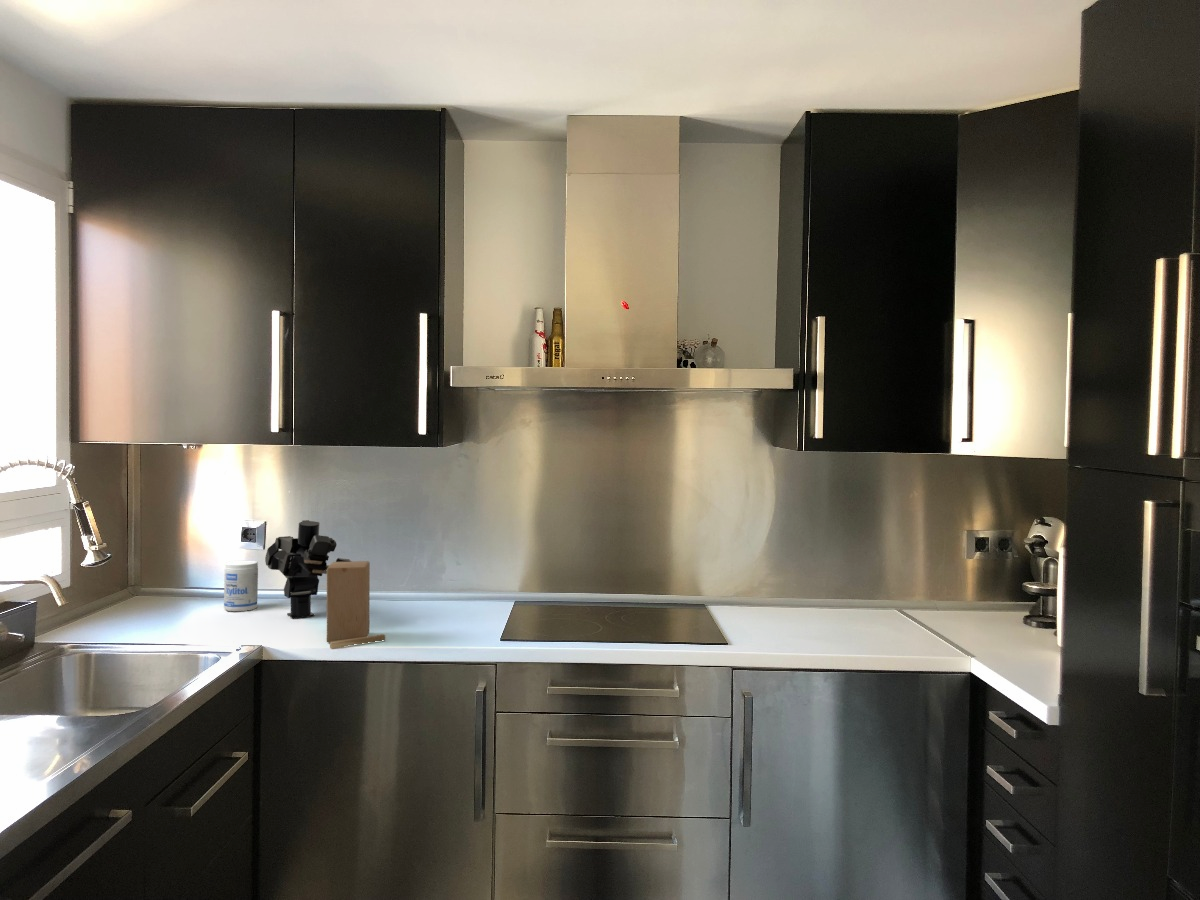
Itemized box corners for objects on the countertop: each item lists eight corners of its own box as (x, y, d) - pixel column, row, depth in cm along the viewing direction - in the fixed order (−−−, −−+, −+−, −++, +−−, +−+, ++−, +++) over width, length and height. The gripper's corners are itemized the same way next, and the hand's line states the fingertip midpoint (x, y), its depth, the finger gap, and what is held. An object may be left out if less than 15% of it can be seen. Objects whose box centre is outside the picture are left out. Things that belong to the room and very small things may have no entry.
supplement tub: (222, 613, 237) (222, 565, 237) (225, 607, 246) (225, 560, 246) (257, 611, 241) (257, 563, 241) (258, 604, 250) (258, 559, 249)
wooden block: (366, 641, 205) (366, 566, 205) (326, 643, 203) (326, 567, 203) (369, 632, 215) (369, 560, 215) (331, 634, 213) (331, 561, 213)
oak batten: (329, 647, 199) (329, 641, 199) (383, 639, 207) (383, 634, 207) (331, 648, 198) (331, 643, 198) (385, 641, 206) (385, 635, 206)
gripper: (284, 528, 220) (300, 544, 208) (348, 536, 232) (366, 552, 219) (274, 566, 221) (289, 584, 208) (338, 572, 232) (355, 590, 220)
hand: (326, 576), depth 214 cm, fingers open, 9 cm apart
